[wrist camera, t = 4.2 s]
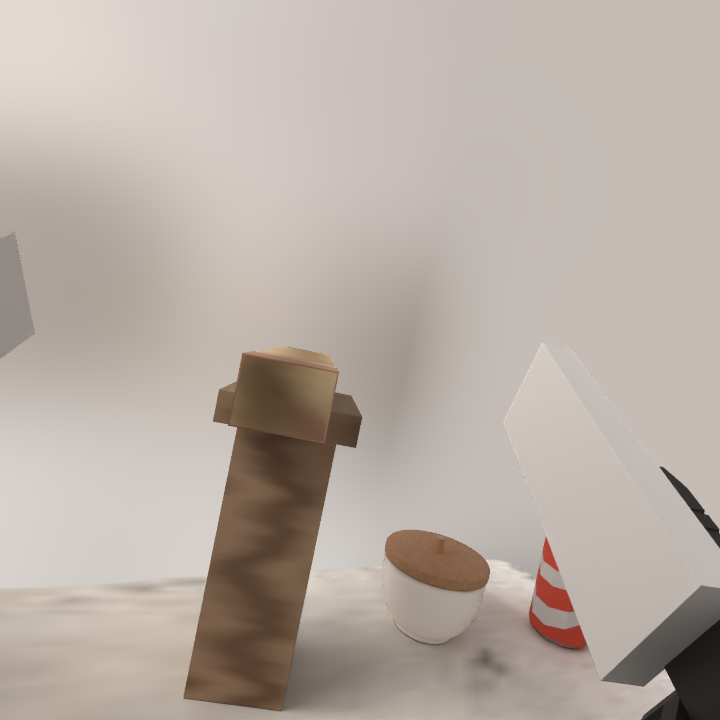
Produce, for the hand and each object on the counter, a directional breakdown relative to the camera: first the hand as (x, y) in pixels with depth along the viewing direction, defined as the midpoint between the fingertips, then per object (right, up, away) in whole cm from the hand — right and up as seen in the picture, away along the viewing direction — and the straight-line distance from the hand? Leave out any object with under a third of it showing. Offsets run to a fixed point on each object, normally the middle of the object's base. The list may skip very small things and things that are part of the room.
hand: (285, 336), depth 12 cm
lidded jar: (+8, -28, +35) cm, 46 cm away
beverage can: (+24, -31, +38) cm, 55 cm away
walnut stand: (-7, -25, +22) cm, 34 cm away
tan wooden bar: (-3, -3, +19) cm, 20 cm away
